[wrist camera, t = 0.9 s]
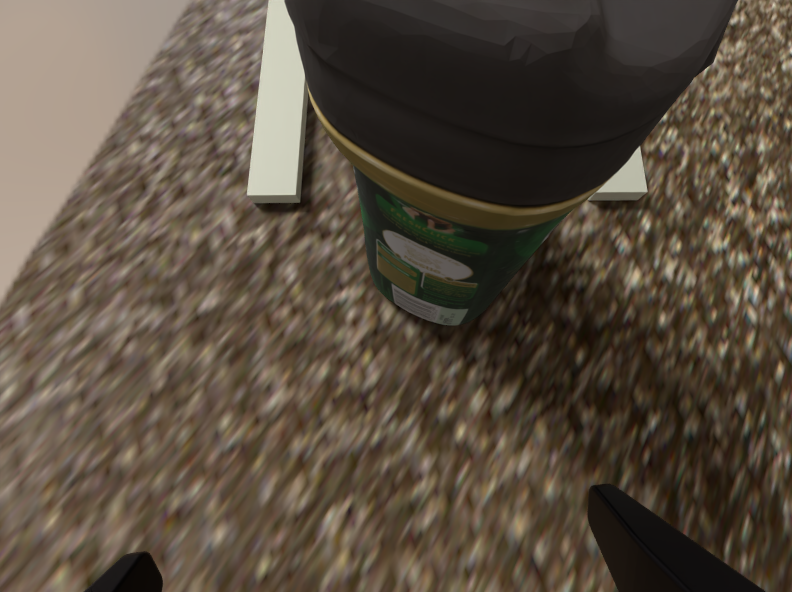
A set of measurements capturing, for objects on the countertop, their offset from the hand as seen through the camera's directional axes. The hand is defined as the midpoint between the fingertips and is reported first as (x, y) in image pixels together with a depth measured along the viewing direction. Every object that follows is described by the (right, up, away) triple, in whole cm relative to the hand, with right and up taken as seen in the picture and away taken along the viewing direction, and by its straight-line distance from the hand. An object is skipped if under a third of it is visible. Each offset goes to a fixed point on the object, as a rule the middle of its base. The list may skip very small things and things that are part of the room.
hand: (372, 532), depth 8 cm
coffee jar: (+3, +8, +16) cm, 18 cm away
